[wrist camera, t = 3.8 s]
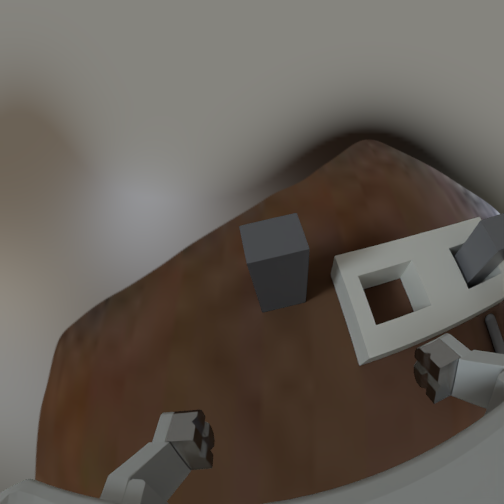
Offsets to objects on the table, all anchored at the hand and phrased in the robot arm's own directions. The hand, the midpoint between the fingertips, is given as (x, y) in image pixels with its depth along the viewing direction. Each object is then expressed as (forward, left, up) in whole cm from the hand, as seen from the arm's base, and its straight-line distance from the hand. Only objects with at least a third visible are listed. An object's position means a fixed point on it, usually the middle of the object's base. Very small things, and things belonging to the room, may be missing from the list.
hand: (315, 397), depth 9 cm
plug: (+10, 0, -14) cm, 17 cm away
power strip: (+1, -14, -14) cm, 20 cm away
